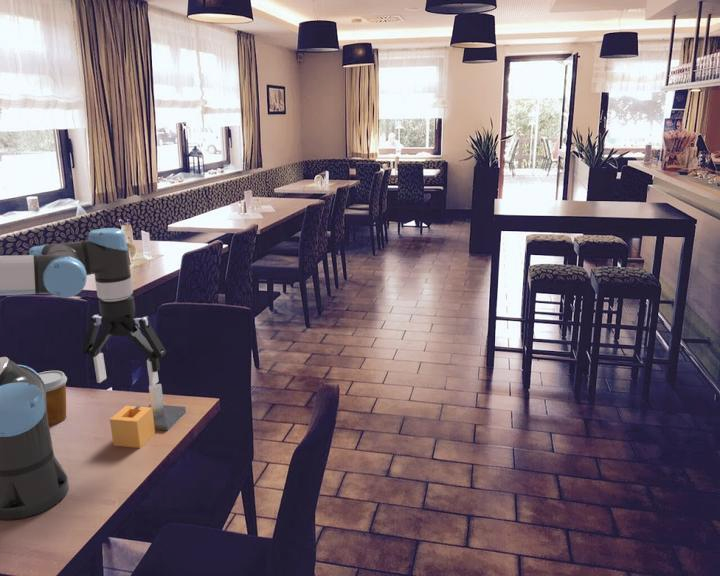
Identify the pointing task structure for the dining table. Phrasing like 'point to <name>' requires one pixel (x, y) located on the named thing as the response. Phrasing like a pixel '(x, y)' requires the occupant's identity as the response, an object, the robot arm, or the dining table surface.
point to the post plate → (168, 417)
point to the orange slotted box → (132, 426)
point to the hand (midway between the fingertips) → (128, 382)
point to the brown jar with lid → (55, 395)
